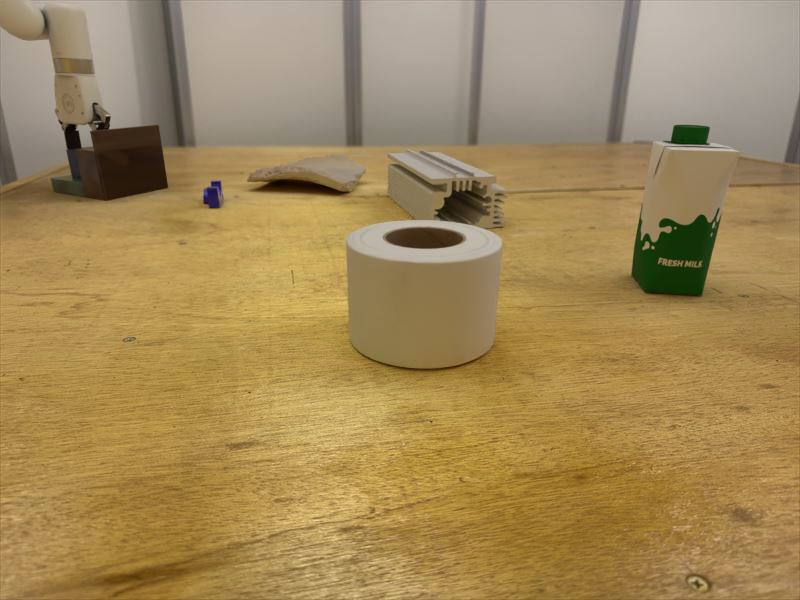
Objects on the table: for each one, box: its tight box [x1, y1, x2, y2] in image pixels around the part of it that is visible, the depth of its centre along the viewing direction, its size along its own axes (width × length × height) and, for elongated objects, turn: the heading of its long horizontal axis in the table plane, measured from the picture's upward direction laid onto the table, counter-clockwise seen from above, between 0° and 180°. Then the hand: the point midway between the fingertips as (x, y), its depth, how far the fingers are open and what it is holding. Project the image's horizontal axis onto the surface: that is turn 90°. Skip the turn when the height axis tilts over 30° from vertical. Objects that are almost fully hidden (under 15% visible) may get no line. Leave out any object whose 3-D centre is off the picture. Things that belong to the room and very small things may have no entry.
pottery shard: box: [246, 153, 367, 192], centre depth 131 cm, size 24×8×20 cm
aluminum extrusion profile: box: [387, 148, 509, 229], centre depth 109 cm, size 14×31×10 cm, turn 15°
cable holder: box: [202, 179, 224, 209], centre depth 113 cm, size 8×4×4 cm, turn 11°
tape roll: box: [345, 219, 503, 370], centre depth 57 cm, size 16×15×11 cm
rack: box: [50, 124, 169, 202], centre depth 123 cm, size 18×16×14 cm
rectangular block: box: [65, 145, 93, 178], centre depth 125 cm, size 4×10×6 cm, turn 152°
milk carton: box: [630, 124, 742, 297], centre depth 69 cm, size 9×9×20 cm
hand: (88, 150), depth 124 cm, fingers open, 9 cm apart
